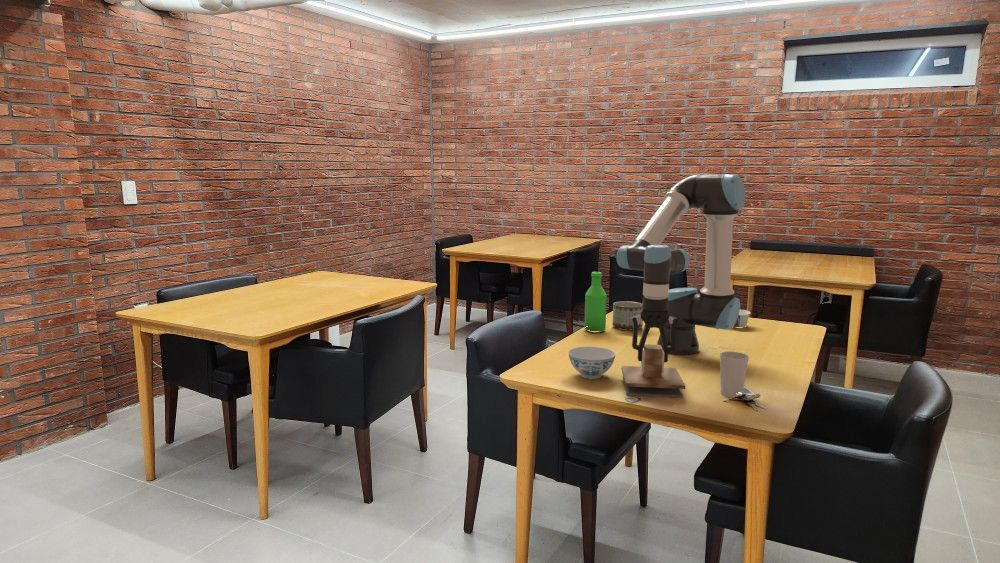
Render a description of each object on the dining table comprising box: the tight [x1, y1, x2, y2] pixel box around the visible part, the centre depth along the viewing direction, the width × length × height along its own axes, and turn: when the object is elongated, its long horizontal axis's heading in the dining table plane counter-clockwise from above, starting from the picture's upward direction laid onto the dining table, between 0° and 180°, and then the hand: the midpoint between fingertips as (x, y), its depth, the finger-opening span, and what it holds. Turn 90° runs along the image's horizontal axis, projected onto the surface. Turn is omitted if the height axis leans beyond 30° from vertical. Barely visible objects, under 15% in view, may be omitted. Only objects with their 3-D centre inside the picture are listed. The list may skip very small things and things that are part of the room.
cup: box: [719, 350, 750, 399], centre depth 181 cm, size 8×8×12 cm
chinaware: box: [568, 346, 616, 380], centre depth 198 cm, size 15×15×8 cm
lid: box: [620, 343, 686, 390], centre depth 186 cm, size 17×17×10 cm
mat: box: [622, 376, 684, 398], centre depth 187 cm, size 16×16×1 cm
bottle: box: [584, 271, 608, 332], centre depth 256 cm, size 9×9×25 cm
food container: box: [733, 308, 751, 327], centre depth 267 cm, size 12×12×6 cm
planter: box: [612, 300, 644, 330], centre depth 262 cm, size 13×13×10 cm
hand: (652, 371), depth 187 cm, fingers closed on lid, 5 cm apart
